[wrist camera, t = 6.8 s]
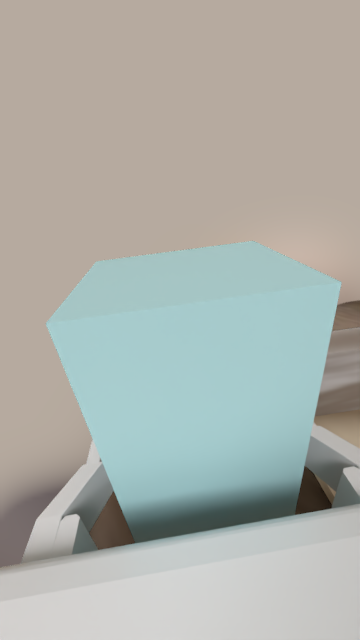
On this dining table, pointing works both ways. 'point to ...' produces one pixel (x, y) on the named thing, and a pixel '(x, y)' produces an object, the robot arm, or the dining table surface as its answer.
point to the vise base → (340, 391)
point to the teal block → (199, 381)
